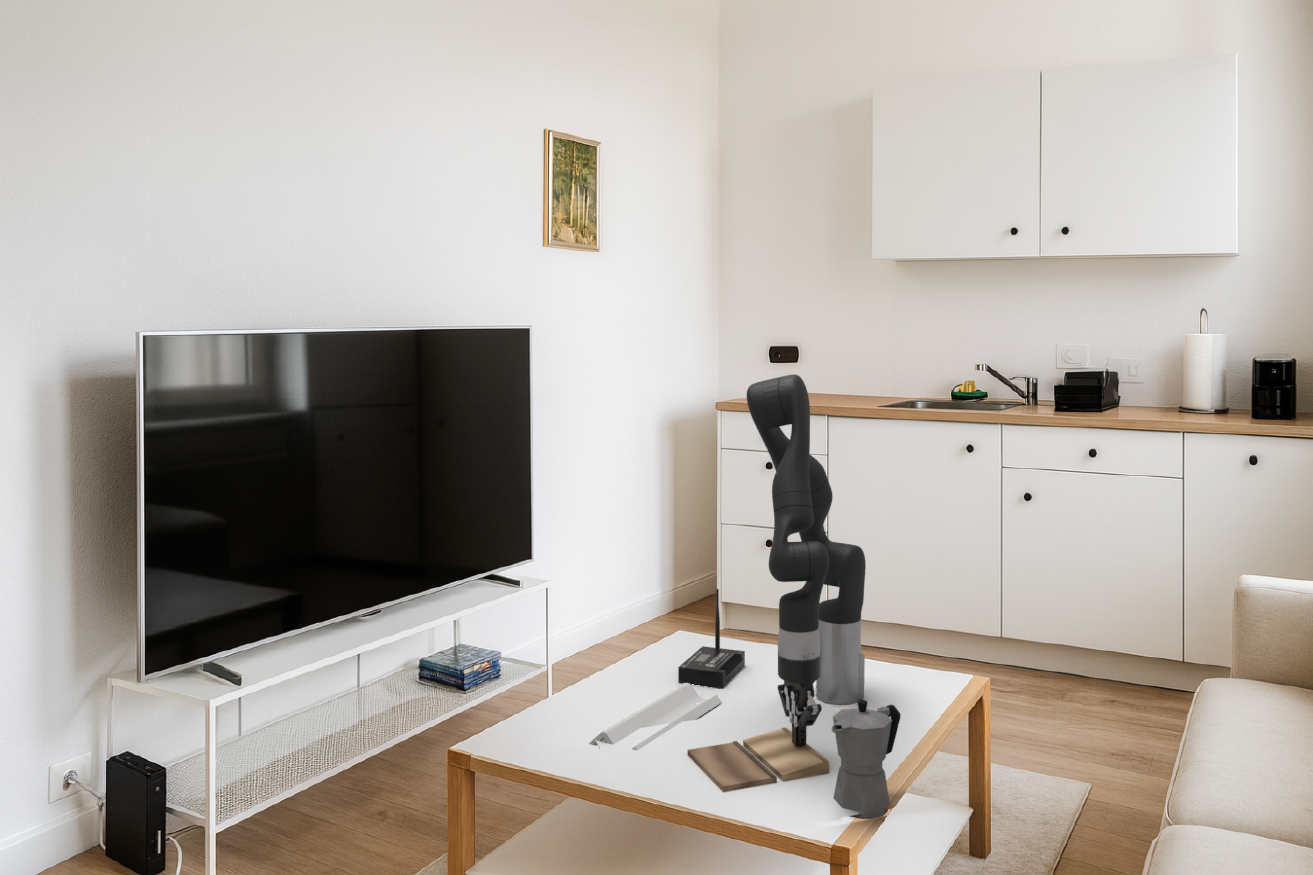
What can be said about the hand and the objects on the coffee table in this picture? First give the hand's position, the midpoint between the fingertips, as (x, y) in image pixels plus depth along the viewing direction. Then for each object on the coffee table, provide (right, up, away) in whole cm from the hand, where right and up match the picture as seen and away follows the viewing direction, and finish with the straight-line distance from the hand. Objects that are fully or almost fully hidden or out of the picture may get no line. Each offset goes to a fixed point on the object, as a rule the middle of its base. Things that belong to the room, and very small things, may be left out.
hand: (799, 744), depth 183 cm
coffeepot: (+9, -5, -16) cm, 19 cm away
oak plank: (-3, -3, -1) cm, 4 cm away
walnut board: (-13, -4, -4) cm, 14 cm away
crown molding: (-25, -2, +20) cm, 32 cm away
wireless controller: (-12, +1, +49) cm, 51 cm away
